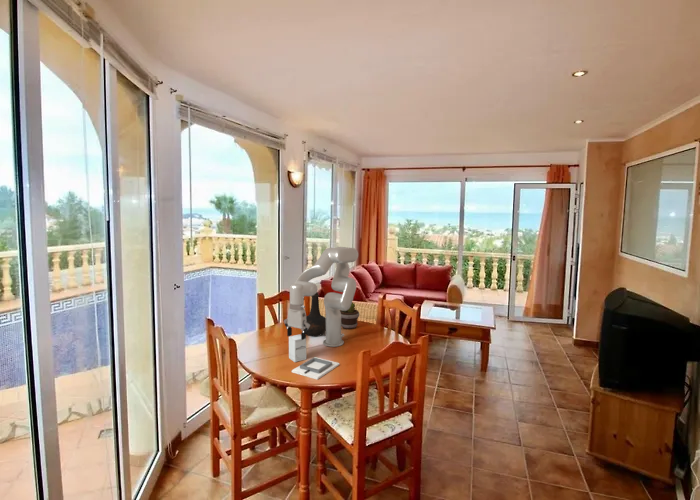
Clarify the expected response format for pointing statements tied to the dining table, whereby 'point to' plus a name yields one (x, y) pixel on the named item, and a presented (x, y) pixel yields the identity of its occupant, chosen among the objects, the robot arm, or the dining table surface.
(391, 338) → the dining table surface
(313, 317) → the black vase
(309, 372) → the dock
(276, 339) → the dining table surface
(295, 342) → the supplement box
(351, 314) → the flowerpot
